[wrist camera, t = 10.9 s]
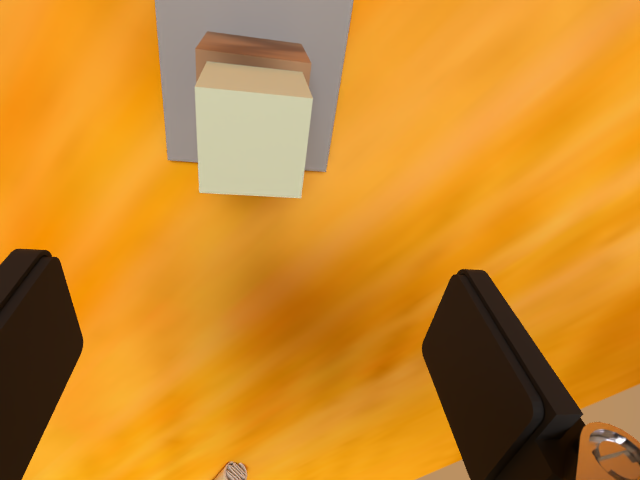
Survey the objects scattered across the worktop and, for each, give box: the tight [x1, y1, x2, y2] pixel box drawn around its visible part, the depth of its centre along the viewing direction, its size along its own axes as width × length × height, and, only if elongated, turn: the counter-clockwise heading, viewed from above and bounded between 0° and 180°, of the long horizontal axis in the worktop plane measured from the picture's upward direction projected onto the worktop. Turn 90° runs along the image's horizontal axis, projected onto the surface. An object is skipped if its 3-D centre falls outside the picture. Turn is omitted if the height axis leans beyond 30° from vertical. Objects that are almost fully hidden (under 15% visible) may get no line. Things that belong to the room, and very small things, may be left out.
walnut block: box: [195, 31, 312, 87], centre depth 25 cm, size 6×6×6 cm
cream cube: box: [195, 61, 313, 198], centre depth 20 cm, size 5×5×5 cm
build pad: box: [155, 0, 353, 172], centre depth 28 cm, size 12×12×1 cm
